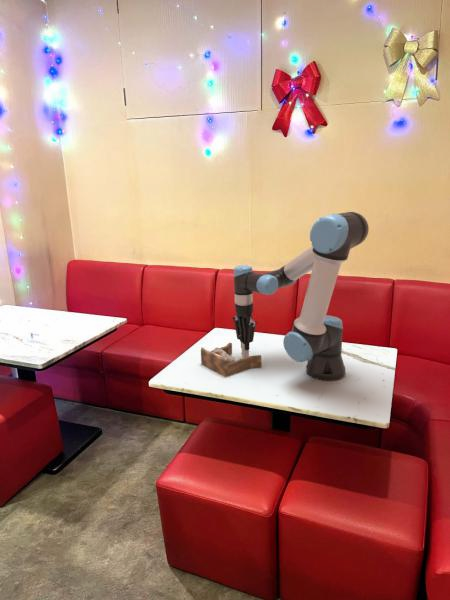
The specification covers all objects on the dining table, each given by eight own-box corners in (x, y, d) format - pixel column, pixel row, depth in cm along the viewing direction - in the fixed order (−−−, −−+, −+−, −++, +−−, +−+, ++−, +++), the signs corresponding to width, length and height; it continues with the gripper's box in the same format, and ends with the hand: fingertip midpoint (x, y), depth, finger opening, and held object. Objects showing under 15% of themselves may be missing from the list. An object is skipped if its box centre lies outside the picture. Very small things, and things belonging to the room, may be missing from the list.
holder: (262, 367, 175) (262, 349, 173) (229, 379, 165) (228, 361, 163) (230, 352, 191) (230, 336, 189) (198, 363, 180) (197, 346, 178)
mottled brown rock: (233, 369, 172) (219, 350, 170) (217, 375, 178) (202, 357, 176) (241, 358, 178) (227, 339, 176) (224, 364, 184) (211, 346, 182)
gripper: (261, 304, 173) (262, 358, 179) (240, 298, 183) (242, 349, 189) (247, 308, 169) (249, 363, 175) (226, 302, 179) (228, 354, 185)
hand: (245, 356), depth 182 cm, fingers closed
